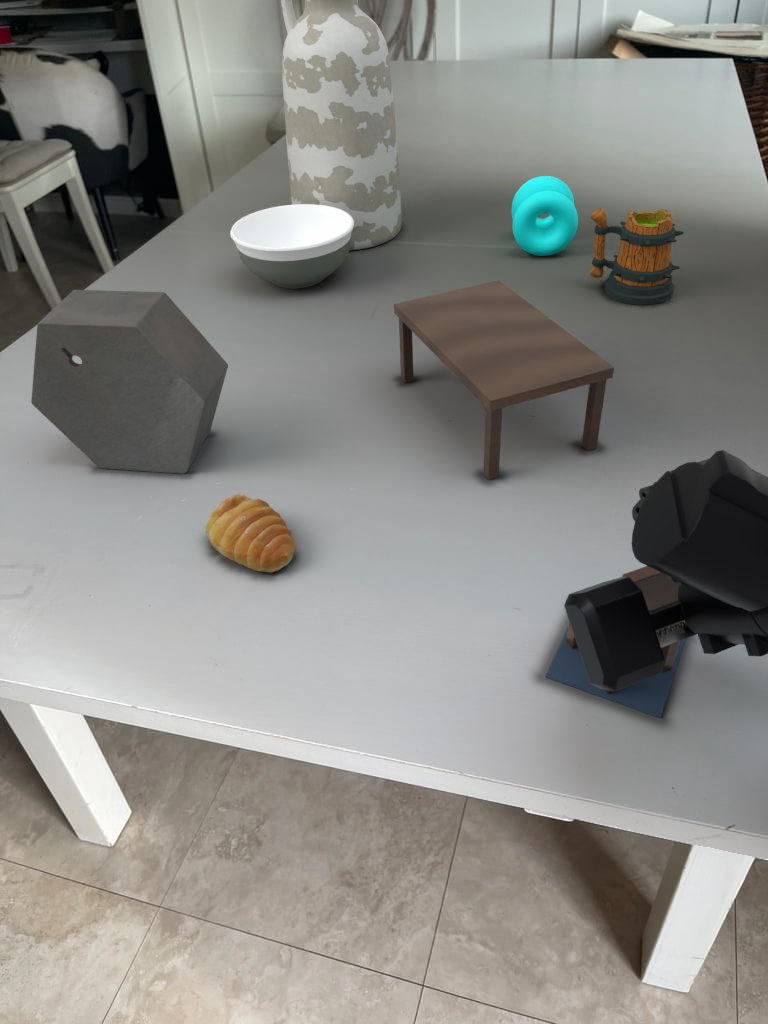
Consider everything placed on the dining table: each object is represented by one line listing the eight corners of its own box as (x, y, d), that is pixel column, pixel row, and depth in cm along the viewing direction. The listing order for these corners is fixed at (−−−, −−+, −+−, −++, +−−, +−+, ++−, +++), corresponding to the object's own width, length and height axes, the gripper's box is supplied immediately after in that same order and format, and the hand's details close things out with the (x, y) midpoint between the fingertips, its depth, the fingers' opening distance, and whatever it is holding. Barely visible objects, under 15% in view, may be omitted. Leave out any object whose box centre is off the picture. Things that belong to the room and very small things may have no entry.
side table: (602, 449, 87) (614, 367, 81) (486, 483, 84) (490, 400, 77) (496, 353, 105) (499, 279, 98) (396, 378, 101) (393, 303, 95)
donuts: (570, 234, 134) (576, 172, 128) (575, 258, 127) (582, 193, 120) (509, 235, 135) (513, 173, 129) (511, 259, 128) (514, 195, 121)
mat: (686, 636, 66) (686, 634, 66) (660, 718, 60) (661, 716, 60) (579, 602, 70) (580, 601, 70) (545, 677, 64) (545, 675, 64)
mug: (673, 277, 120) (688, 198, 112) (676, 307, 112) (692, 225, 105) (584, 273, 122) (592, 195, 115) (580, 302, 115) (589, 221, 107)
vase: (424, 227, 140) (420, -37, 116) (348, 261, 130) (326, -20, 106) (343, 203, 151) (323, -42, 127) (267, 233, 141) (230, -27, 117)
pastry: (315, 552, 77) (311, 521, 74) (259, 589, 73) (252, 559, 71) (255, 510, 82) (249, 480, 79) (200, 543, 78) (192, 513, 76)
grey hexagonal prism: (261, 401, 89) (126, 247, 80) (240, 441, 83) (91, 279, 74) (160, 462, 97) (26, 328, 88) (134, 502, 91) (-12, 363, 82)
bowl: (282, 247, 136) (275, 197, 131) (379, 263, 129) (376, 211, 124) (214, 291, 124) (204, 238, 119) (317, 311, 116) (311, 256, 111)
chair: (672, 669, 64) (703, 557, 56) (608, 694, 62) (630, 583, 54) (627, 618, 68) (650, 508, 60) (565, 640, 66) (581, 531, 59)
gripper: (870, 415, 48) (706, 466, 63) (600, 501, 43) (493, 534, 58) (934, 596, 47) (754, 603, 62) (668, 704, 42) (542, 683, 57)
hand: (639, 601), depth 60 cm, fingers open, 9 cm apart
